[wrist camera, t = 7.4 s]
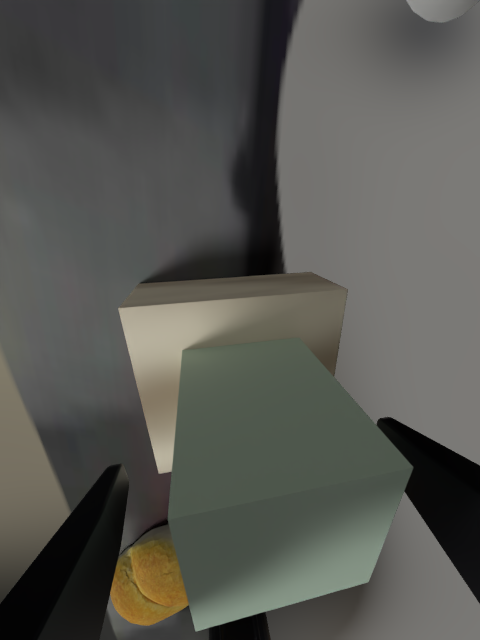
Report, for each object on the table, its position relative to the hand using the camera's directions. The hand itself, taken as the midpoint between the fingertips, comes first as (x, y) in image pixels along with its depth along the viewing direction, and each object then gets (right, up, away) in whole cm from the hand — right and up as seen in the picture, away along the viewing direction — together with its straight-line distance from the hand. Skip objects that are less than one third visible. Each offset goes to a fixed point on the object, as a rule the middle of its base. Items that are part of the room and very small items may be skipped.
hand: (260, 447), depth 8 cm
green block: (-1, +1, +3) cm, 3 cm away
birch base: (-1, +3, +6) cm, 6 cm away
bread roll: (-7, -16, +13) cm, 22 cm away
